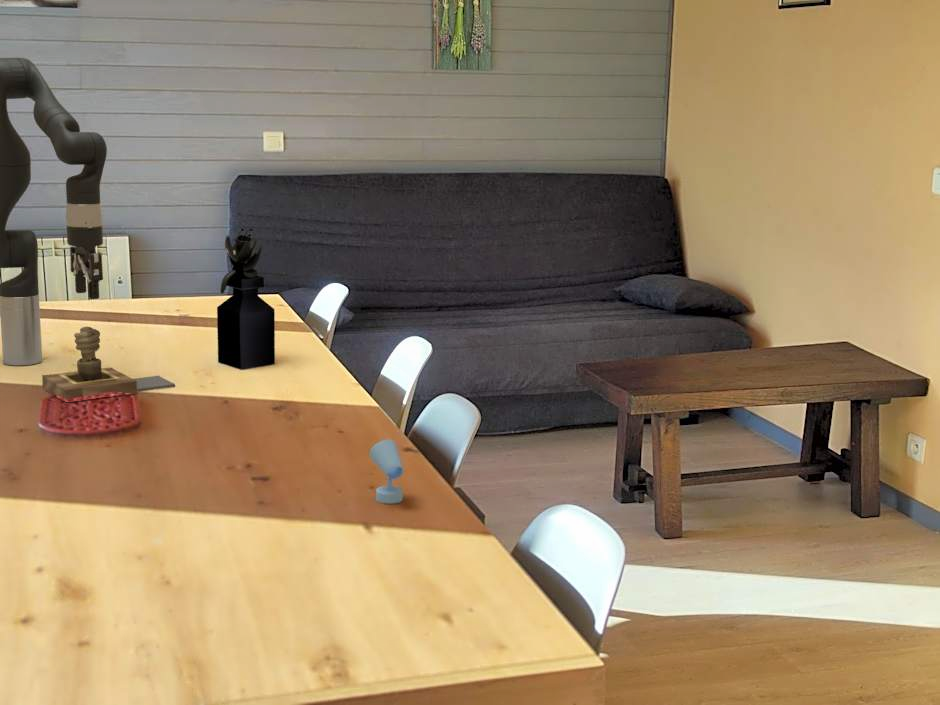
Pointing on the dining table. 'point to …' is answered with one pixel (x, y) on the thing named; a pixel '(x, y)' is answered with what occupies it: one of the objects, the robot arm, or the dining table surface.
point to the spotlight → (388, 470)
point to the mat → (152, 383)
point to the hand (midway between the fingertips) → (87, 295)
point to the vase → (245, 312)
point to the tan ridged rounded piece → (88, 353)
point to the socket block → (88, 384)
